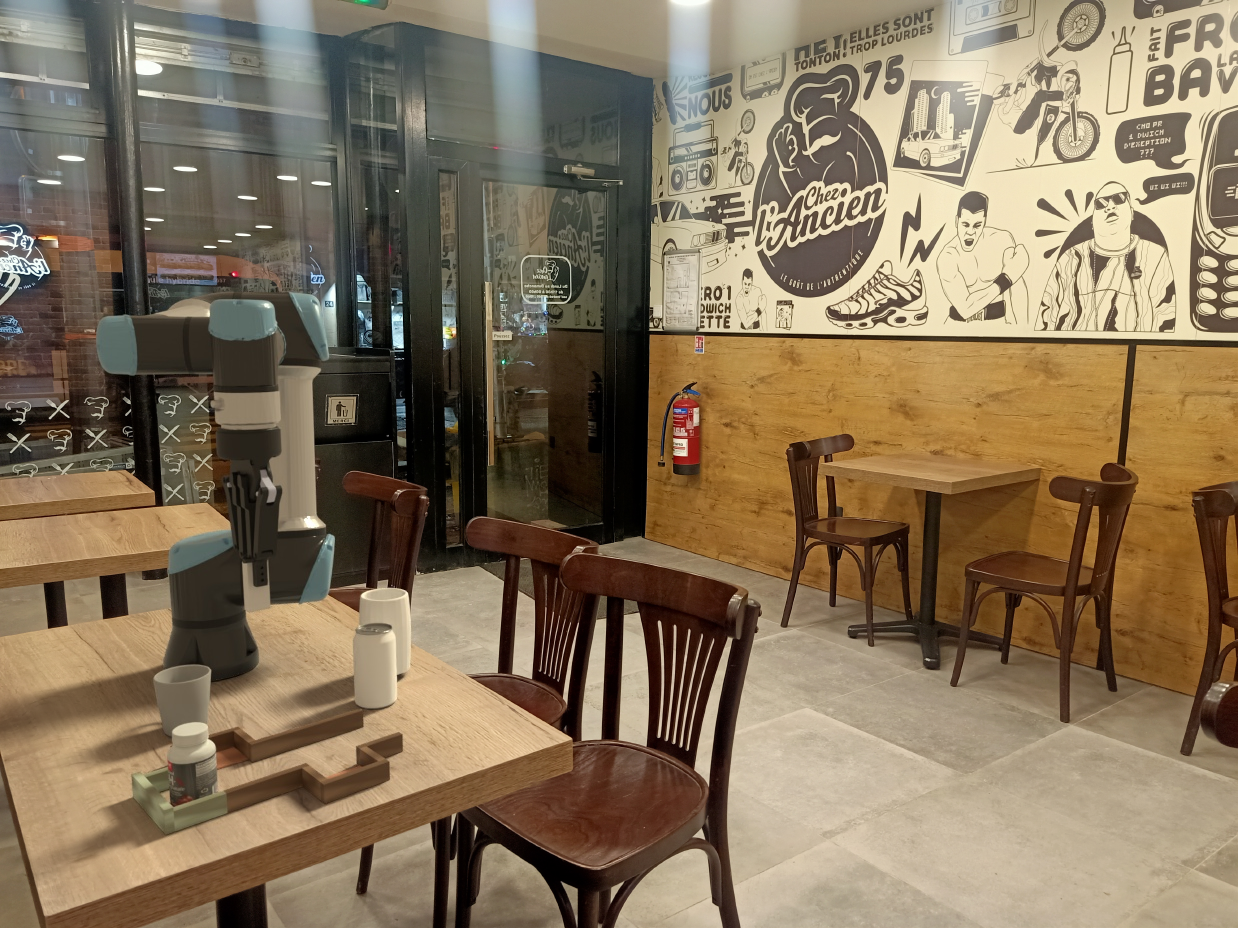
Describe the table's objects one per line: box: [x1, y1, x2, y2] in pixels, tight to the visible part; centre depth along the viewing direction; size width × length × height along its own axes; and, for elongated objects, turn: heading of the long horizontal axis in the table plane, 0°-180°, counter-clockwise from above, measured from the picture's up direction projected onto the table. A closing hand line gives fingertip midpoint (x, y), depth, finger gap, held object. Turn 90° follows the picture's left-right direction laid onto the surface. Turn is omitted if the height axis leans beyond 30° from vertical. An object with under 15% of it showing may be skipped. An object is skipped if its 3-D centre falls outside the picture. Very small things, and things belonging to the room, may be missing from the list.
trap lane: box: [130, 708, 404, 835], centre depth 119 cm, size 24×31×3 cm
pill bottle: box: [166, 722, 219, 807], centre depth 111 cm, size 5×5×10 cm
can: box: [352, 623, 398, 710], centre depth 142 cm, size 6×6×12 cm
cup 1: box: [152, 665, 212, 738], centre depth 133 cm, size 8×10×8 cm
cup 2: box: [358, 587, 412, 676], centre depth 153 cm, size 8×8×14 cm
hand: (257, 608), depth 116 cm, fingers closed
